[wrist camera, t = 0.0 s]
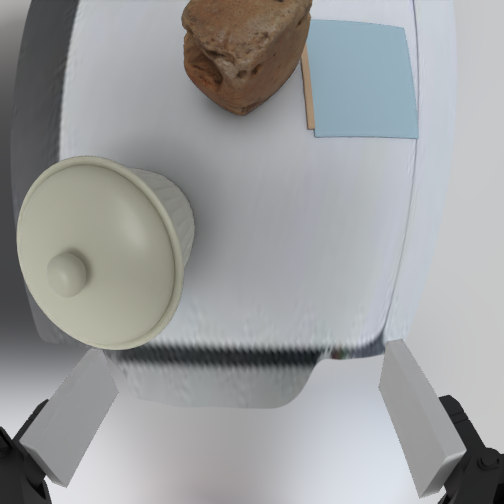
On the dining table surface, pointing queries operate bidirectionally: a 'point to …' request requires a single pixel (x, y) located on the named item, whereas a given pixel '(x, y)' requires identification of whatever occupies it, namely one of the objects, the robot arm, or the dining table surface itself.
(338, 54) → the book
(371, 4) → the dining table surface
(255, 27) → the pitted brown rock
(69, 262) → the canister
